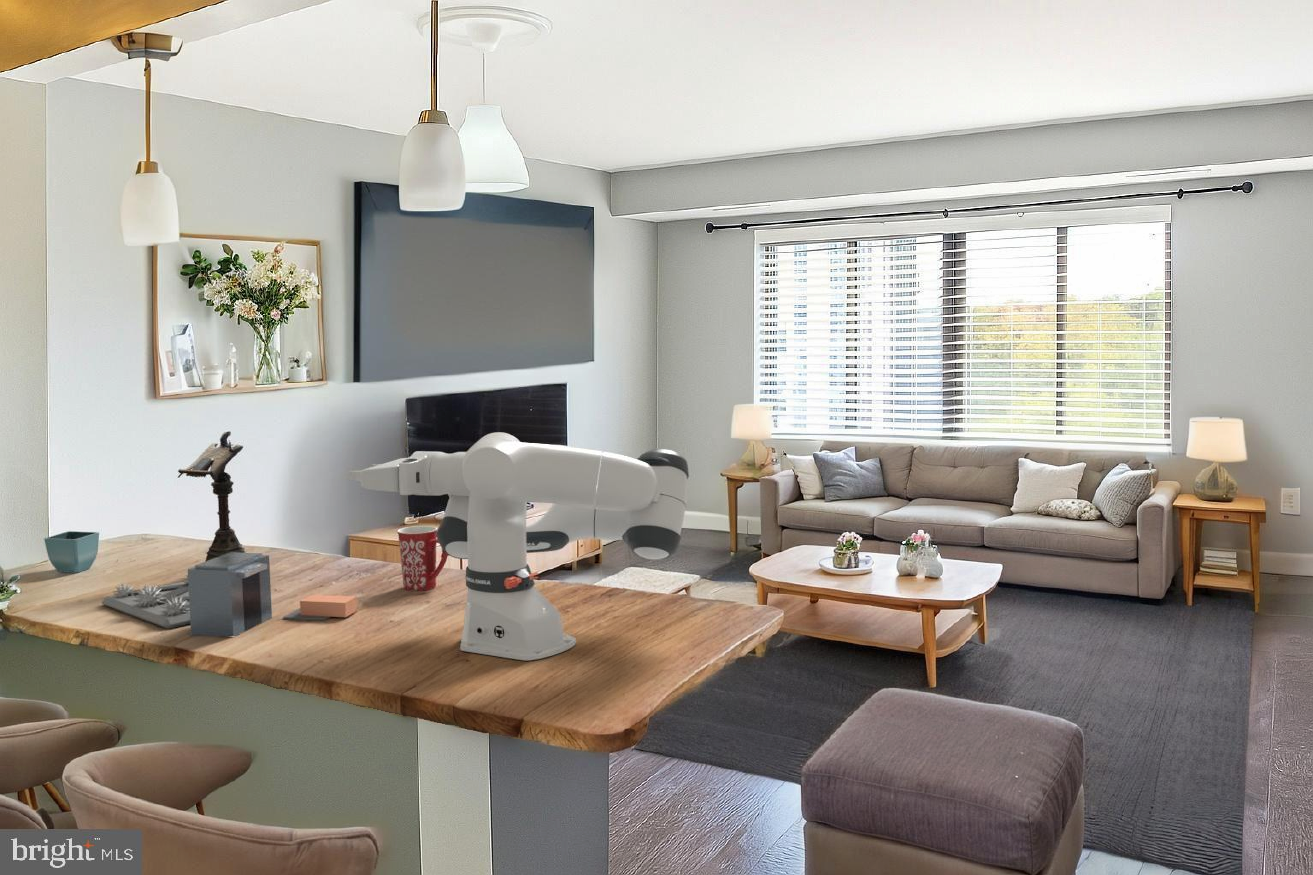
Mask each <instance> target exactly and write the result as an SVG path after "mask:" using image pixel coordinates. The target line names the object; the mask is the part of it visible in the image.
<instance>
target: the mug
mask: <svg viewBox="0 0 1313 875" xmlns="http://www.w3.org/2000/svg"><path fill="white" fill-rule="evenodd" d="M437 530H438V527H436V526H431V525H417V526H416V525H415V526H407V527H406V526H405V527H402V528H399V529H397V530H396V532H397V535H398V544H399V554H400V555H399V556H400V563H401V564H400V565H401V572H402V573H401V574H402V584H403V585H402V586H403V589H404V590H406V591H413V592H418V591H426V590H431V589H434V588H435V587H437V577H438V575H439V574H440V573H441V572H442V570H443V568H444V567H445V565H446V562H447V559H448V556H449V555H448V554H447V553H446V552H445V551H444V550H443V549H442V548H441V558H440V562H439V564H438V566H437V543H438V544H439V542H438V539H437V537H436V533H437Z"/></svg>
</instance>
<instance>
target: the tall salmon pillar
mask: <svg viewBox="0 0 1313 875" xmlns="http://www.w3.org/2000/svg"><path fill="white" fill-rule="evenodd" d="M357 604H358V601H357V596H353V595H351V596H350V595H347V596H346V595H328V594H327V595H325V594H324V595H323V594H311V595H309V596H307V597H305V598H303V599H301V600H299V609H300V614H301V615H308V616H330V618H332V617H334V618H348V617H349V616H351V615H352V614H354V613H356V612H358V611H357V610H358V605H357Z"/></svg>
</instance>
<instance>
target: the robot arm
mask: <svg viewBox="0 0 1313 875" xmlns="http://www.w3.org/2000/svg"><path fill="white" fill-rule="evenodd" d="M689 474H690V473H689V466H688V461H687V460H686V458H684V457H683V456H682V455H681V454H680V453H679V452H677V451H674V450H670V449H664V448H656V449H650V450H648V451H646V452H643V453H642V454H641V455H639V457H638V458H635V457H630V456H627V455H625V454H624V455H623V454H619V453H614V452H610V451H605V450H596V449H593V448H592V449H590V448H583V447H577V446H569V445H562V444H547V443H546V444H545V443H531V442H530V443H529V442H521V441H520V440H519V439H518V438H517V437H515V436H514V435H511V434H510V433H507V432H499V431H498V432H491V433H488V434H485V435H484V436H482V437H481V438H480V439H478V440H477V441H476V442H475V443H474V444H473V445H472V446H471V447H470V448H469V449H468V450H467V451H457V452H453V453H446V452H443V451H432V450H431V451H427V450H426V451H425V450H421V451H420V450H419V451H418V450H417V451H414V452H413V453H412V454H411V455H410V456H408V457H401V458H397V459H395V460H392V461H389V462H388V461H387V462H385V463H379V464H376V463H373V464H369V465H368V467H367V468H365V469H361V470H354V469H353V470H349V471H347V473H346V475H347V476H346V477H347V480H348V481H356V482H359V483H360V487H361V488H363V489H366V490H371V491H372V490H373V491H379V492H380V491H382V492H391V493H392V492H393V493H399V495H401V496H412V495H413V496H414V495H415V496H438V497H439V496H443V495H448V497H449V499H448V501H447V505H446V508H445V511H444V513H443V517H442V519H441V521H440V524H439V526H438V527H437V533H436V537H437V539H438V542H439V543H438V544H439V546H440V547H441V550H442V549H443V550H444V551H445V552H446V553H447V554H448V556H450V557H452V558H454V559H459V560H467V566H466V567H465V577H464V579H465V586H466V588H467V596H466V603H465V610H464V611H465V612H464V620H463V631H462V633H461V634H462V635H461V639H460V646H459V650H460V651H461V652H462V651H463V652H466V653H467V652H468V653H474V654H481V655H486V656H487V655H488V656H494V657H499V658H500V657H501V658H505V659H510V660H511V659H514V660H518V661H533V660H534V661H535V660H540V659H544V658H548V657H551V656H554V655H557V654H561V653H563V652H566V651H567V650H569V649H572V648H573V647H574V646H575V645H576V643H577V642H576V637H574V636H572V635H569V634H566V633H564V627H563V621H562V616H561V613H560V611H559V609H557V608H556V607H555V606H554V605H553V604H552V603H551V602H550V601H549V600H548V598H546V597H545V596H544V595H543V594H542V593H541V592H540V591H539V590H538V589H537V588H536V586H535V579H538V578H539V576H536V575H538V574H539V572H538V571H537V572H532V571H531V568H530V565H529V564H528V562H527V561H528V560H527V559H528V558H527V556H528V554H530V553H531V554H532V553H534V554H535V553H547V552H548V553H549V552H555V551H559V550H562V549H564V548H565V547H566V546H567V545H569V544H570V543H573V542H577V541H582V540H588V539H589V540H604V541H621V540H622V541H624V542H625V543H626V546H627V548H628V549H629V550H630V551H631V552H632V553H633V554H634V555H636V556H638V557H641V558H644V559H647V560H664V559H670V557H672V556H673V555H675V554H676V553H677V551H678V549H679V547H680V542H681V539H682V537H681V531H682V529H683V524H684V520H685V519H684V518H685V514H686V513H685V512H686V509H687V504H688V479H689V476H690V475H689ZM528 503H539V504H540V503H543V504H544V503H545V504H552V505H551V506H550V507H549V509H548V511H546V513H544V515H543V516H541V518H540V519H538V520H537V521H535V522H533V523H531V524H529V525H527V512H528V508H527V506H528Z"/></svg>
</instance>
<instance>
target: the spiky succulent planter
mask: <svg viewBox="0 0 1313 875" xmlns="http://www.w3.org/2000/svg"><path fill="white" fill-rule="evenodd" d="M185 576H186V577H187V578H183V580H184V581H181V582H176V583H175V582H174V583H170V584H165V585H159V586H158V584H157V583H154V585H153V586H152V585H151V584H150V585H149V584H146V583H144V586H143V587H144V589H142V588H141V586H138V588H139V589H137V590H136V588H135V587H134V585H133V586H131V585H130V584H131V583H129V582H128V583H127V584H126V583H121V585H118V587H116V589H117V590H114V592H115V593H113V594H112V595H107V596H106V597H105V598H104V599H103V600H102V601H101V604H102V605H104V606H106V607H108V608H110V609H114V610H117V611H119V612H122V613H124V614H127V615H130V616H132V617H135V618H138V619H140V620H143V621H146V622H148V623H150V624H154V625H156V626H159V627H162V628H165V629H166V630H170V629H174V628H178V627H183V626H187V625H191V624H190V606H189V588H188V574H185ZM133 587H134V588H133Z"/></svg>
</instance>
